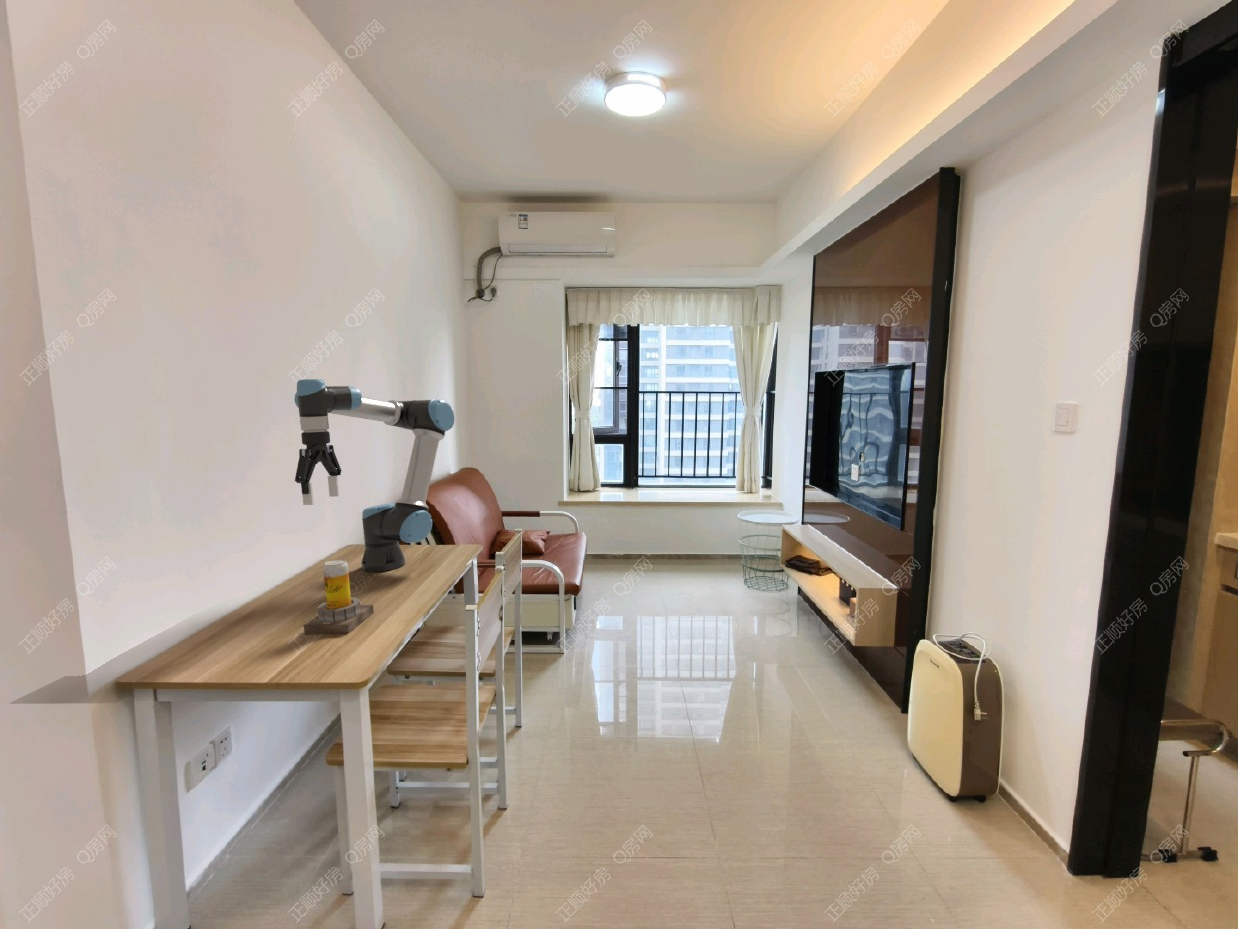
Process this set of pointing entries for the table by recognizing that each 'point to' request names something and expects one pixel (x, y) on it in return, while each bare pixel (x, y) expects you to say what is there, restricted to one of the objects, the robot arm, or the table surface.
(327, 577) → the beer can
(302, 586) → the table surface
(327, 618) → the cup holder
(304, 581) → the table surface
